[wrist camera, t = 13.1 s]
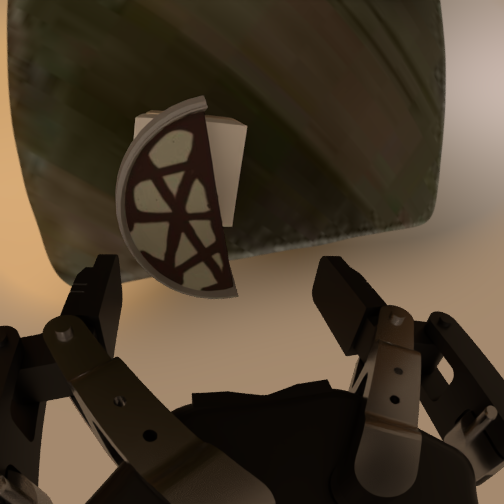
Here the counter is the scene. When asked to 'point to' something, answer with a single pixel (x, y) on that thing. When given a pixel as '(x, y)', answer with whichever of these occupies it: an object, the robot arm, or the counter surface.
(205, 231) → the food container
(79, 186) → the counter surface
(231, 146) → the tower top block
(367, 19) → the counter surface
